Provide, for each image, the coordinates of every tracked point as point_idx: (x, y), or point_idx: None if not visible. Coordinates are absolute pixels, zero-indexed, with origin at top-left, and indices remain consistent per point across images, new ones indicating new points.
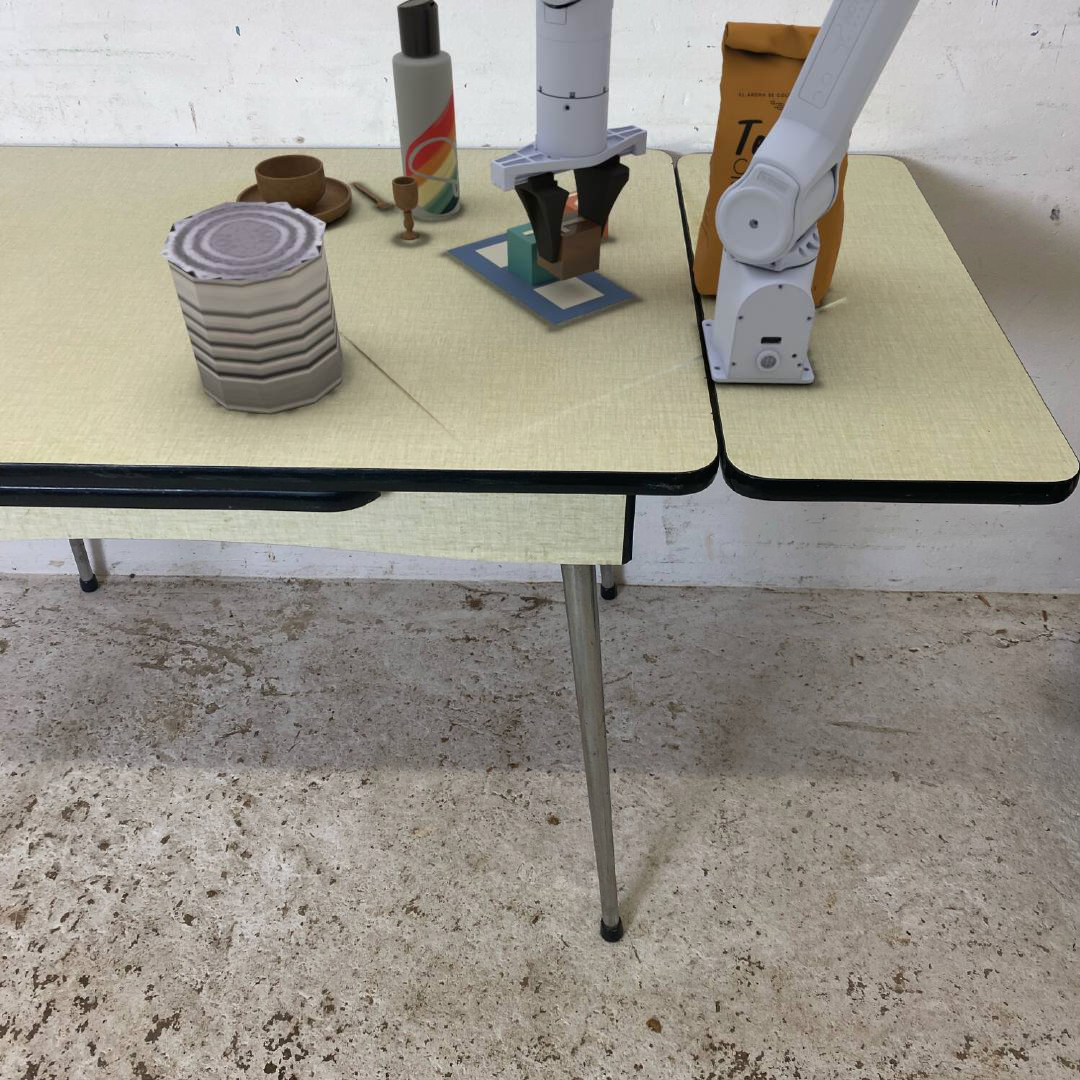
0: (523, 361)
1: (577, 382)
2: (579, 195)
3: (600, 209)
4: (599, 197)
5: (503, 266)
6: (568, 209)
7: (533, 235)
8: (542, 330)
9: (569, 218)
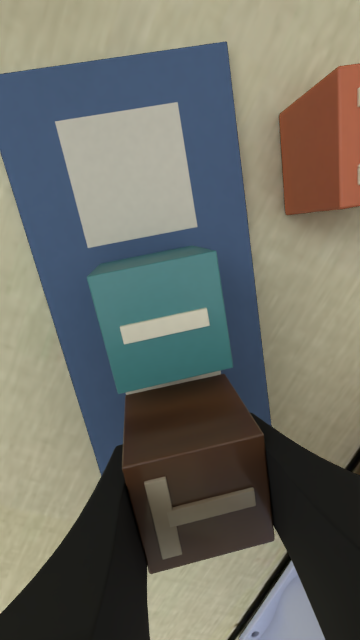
0: (22, 549)
1: None
2: (295, 491)
3: (298, 572)
4: (318, 606)
5: (95, 243)
6: (332, 168)
7: (144, 347)
8: (85, 480)
9: (222, 480)
